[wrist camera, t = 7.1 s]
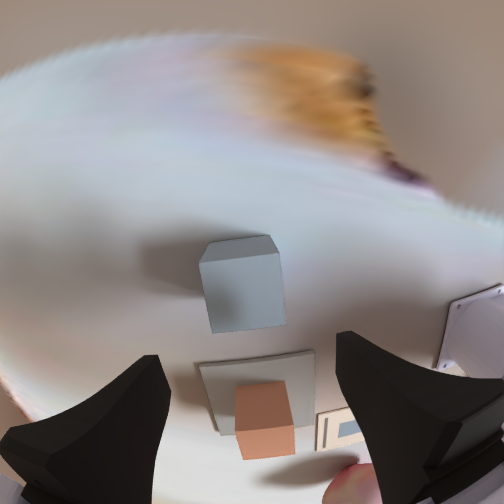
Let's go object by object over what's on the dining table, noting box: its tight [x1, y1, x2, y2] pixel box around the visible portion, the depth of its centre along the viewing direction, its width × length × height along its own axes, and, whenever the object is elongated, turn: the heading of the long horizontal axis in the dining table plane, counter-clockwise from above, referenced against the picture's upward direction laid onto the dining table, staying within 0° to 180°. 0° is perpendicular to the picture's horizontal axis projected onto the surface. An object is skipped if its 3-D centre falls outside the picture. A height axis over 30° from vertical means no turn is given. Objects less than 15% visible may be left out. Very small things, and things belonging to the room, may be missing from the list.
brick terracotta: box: [235, 381, 295, 460], centre depth 19 cm, size 4×4×5 cm
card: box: [316, 407, 365, 452], centre depth 23 cm, size 10×7×1 cm
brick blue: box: [199, 235, 286, 334], centre depth 17 cm, size 4×4×5 cm
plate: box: [199, 350, 315, 436], centre depth 22 cm, size 9×9×1 cm
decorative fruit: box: [322, 463, 382, 504], centre depth 21 cm, size 9×8×10 cm
